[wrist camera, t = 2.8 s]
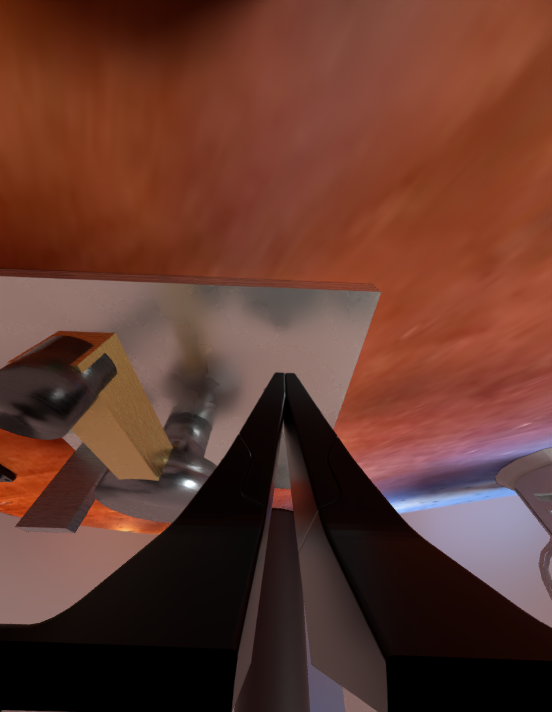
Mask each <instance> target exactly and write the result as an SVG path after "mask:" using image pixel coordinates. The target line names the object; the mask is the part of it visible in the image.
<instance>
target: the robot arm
mask: <svg viewBox="0 0 552 712" xmlns="http://www.w3.org/2000/svg"><path fill="white" fill-rule="evenodd" d="M283 425H284V435H285V443H286V452H287V460H288V469H289V477H290V486H291V494H292V503H293V511H294V520H295V528H296V537H297V545H298V552H299V563H300V571H301V580H302V588H303V597H304V605H305V613H306V622H307V630H308V638H309V647H310V656H311V664H312V665H313V666H314V667H316V668H317V669H318V670H320V671H321V672H323V673H324V674H325V675H327V676H328V677H330V678H331V679H332V680H334V681H335V682H337V683H338V684H339V685H341V686H342V687H343V694H344V703H345V711H346V712H552V628H551V627H549V626H548V625H546V624H544V623H542V622H540V621H538V620H537V619H536V618H534V617H533V616H531V615H529V614H528V613H526V612H525V611H524V610H522V609H521V608H519V607H518V606H516V605H515V604H514V603H512V602H511V601H510V600H508V599H507V598H505V597H504V596H503V595H501V594H500V593H498V592H497V591H496V590H494V589H493V588H492V587H490V586H489V585H487V584H486V583H485V582H483V581H482V580H480V579H479V578H478V577H476V576H475V575H473V574H472V573H471V572H469V571H468V570H467V569H465V568H464V567H462V566H461V565H460V564H458V563H457V562H456V561H454V560H453V559H451V558H450V557H449V556H447V555H446V554H444V553H443V552H442V551H440V550H439V549H438V548H436V547H435V546H433V545H432V544H430V543H429V542H428V541H426V540H425V539H424V538H423V537H422V536H420V535H419V534H418V533H417V532H416V531H415V530H414V529H413V528H411V527H410V526H409V525H408V524H407V523H406V522H405V521H404V519H403V518H402V517H401V516H400V515H399V514H398V513H397V511H396V510H395V509H394V508H393V507H392V505H391V504H390V503H389V502H388V501H387V499H386V498H385V497H384V496H383V495H382V493H381V492H380V491H379V490H378V489H377V487H376V486H375V485H374V484H373V483H372V481H371V480H370V479H369V478H368V477H367V475H366V474H365V473H364V472H363V470H362V469H361V468H360V467H359V465H358V464H357V463H356V462H355V460H354V459H353V458H352V456H351V455H350V453H349V452H348V451H347V449H346V448H345V446H344V445H343V443H342V442H341V440H340V439H339V438H337V435H336V433H335V432H334V430H333V429H332V427H331V426H330V424H329V423H328V421H327V420H326V418H325V417H324V415H323V414H322V412H321V411H320V409H319V408H318V406H317V405H316V404H315V402H314V401H313V399H312V398H311V396H310V395H309V393H308V392H307V390H306V389H305V387H304V386H303V384H302V383H301V381H300V380H299V378H298V377H297V375H296V374H295V373H283V372H275V373H274V375H273V376H272V378H271V380H270V381H269V383H268V385H267V386H266V388H265V390H264V392H263V393H262V395H261V397H260V398H259V400H258V402H257V403H256V405H255V407H254V408H253V410H252V412H251V413H250V415H249V417H248V418H247V420H246V422H245V423H244V425H243V427H242V429H241V430H240V432H239V434H238V435H237V437H236V438H235V440H234V442H233V443H232V445H231V447H230V448H229V450H228V451H227V453H226V454H225V456H224V457H223V459H222V460H221V461H220V463H219V464H218V466H217V467H216V468H215V470H214V471H213V472H212V474H211V475H210V476H209V478H208V479H207V480H206V481H205V483H204V484H203V485H202V487H201V488H200V489H199V491H198V492H197V493H196V494H195V496H194V497H193V498H192V500H191V501H190V502H189V504H188V505H187V506H186V507H185V509H184V510H183V511H182V512H181V514H180V515H179V516H178V517H177V518H176V519H175V520H174V521H173V522H172V523H171V525H170V526H169V527H167V528H166V529H165V530H164V531H163V532H162V533H161V534H160V535H158V536H157V537H156V538H155V539H154V540H153V541H151V542H150V543H149V544H148V545H146V546H145V547H144V548H143V549H142V550H140V551H139V552H138V553H137V554H136V555H134V556H133V557H132V558H131V559H129V560H128V561H127V562H126V563H125V564H123V565H122V566H121V567H120V568H119V569H118V570H116V571H115V572H114V573H112V574H111V575H110V576H109V577H108V578H106V579H105V580H104V581H103V582H102V583H100V584H99V585H98V586H97V587H95V588H94V589H93V590H92V591H91V592H90V593H88V594H87V595H86V596H84V597H83V598H82V599H81V600H79V601H78V602H77V603H75V604H74V605H73V606H71V607H70V608H68V609H67V610H65V611H63V612H62V613H60V614H58V615H56V616H55V617H53V618H50V619H48V620H45V621H43V622H41V623H36V624H30V625H27V624H0V712H232V711H233V708H234V706H235V703H236V700H237V698H238V695H239V693H240V690H241V687H242V685H243V682H244V680H245V677H246V674H247V672H248V669H249V667H250V664H251V659H252V651H253V643H254V636H255V628H256V621H257V614H258V606H259V599H260V592H261V584H262V577H263V569H264V562H265V555H266V547H267V540H268V532H269V525H270V518H271V510H272V503H273V496H274V488H275V481H276V474H277V466H278V459H279V451H280V444H281V437H282V429H283ZM16 478H17V477H16V476H14V475H13V474H11V473H10V472H8V471H6V470H5V469H3V468H1V467H0V482H13V481H14V480H15V479H16Z"/></svg>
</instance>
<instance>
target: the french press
mask: <svg viewBox="0 0 552 712" xmlns="http://www.w3.org/2000/svg"><path fill="white" fill-rule="evenodd" d="M495 479H496V482H497V484H499V485H502V486H504V487H506V488H509V489H511V490H514V491H515V492H516V493H517V494H518V496H519V497H520V498H521V499H522V501H523V502H524V503H525V505H526V506H527V507H528V508H529V510H530V511H531V512H532V513H533V515H534V516H535V517H536V519H537V520H538V521H539V522H540V524H541V525H542V526H543V528H544V529H545V530H546V531H547V533H548V534H549V535H550V537H551V538H550V541H549V543H548V544H547V545H546V546H545V547H544V549H543V550H542V551H541V554H540V560H539V568H540V572H541V577H542V580H543V582H544V585H545V587H546V589H547V591H548V593H549V595H550V598H551V599H552V591H551V590H552V580H551V577H550V574H549V570H548V569H549V563H550V558H551V556H552V512H551V511H552V448H547V449H543V450H540V451H538V452H535V453H532V454H530V455H527V456H524V457H522V458H519V459H517V460H515V461H514V462H512V463H510V464H509V465H507V466H505V467H503V468H502V469H501V470H500V471H499V473H498V474H497V475H496V476H495ZM550 510H551V511H550ZM547 552H548V553H547ZM546 553H547V554H546ZM545 554H546V556H545ZM544 557H545V561H544ZM543 564H544V568H543ZM550 588H551V589H550Z"/></svg>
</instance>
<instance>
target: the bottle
mask: <svg viewBox="0 0 552 712" xmlns="http://www.w3.org/2000/svg"><path fill="white" fill-rule="evenodd" d="M234 712H310V703H309V685H308V669H307V651H306V633H305V616H304V599H303V588H302V580H301V571H300V563H299V552H298V545H297V537H296V528H295V520H294V513H293V512H290V511H287V510H281V509H272V510H271V518H270V525H269V532H268V540H267V547H266V555H265V562H264V569H263V577H262V584H261V592H260V599H259V606H258V614H257V621H256V628H255V636H254V643H253V651H252V659H251V664H250V667H249V669H248V672H247V674H246V677H245V680H244V682H243V685H242V687H241V690H240V693H239V695H238V698H237V700H236V703H235V708H234Z"/></svg>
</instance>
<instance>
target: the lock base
mask: <svg viewBox="0 0 552 712" xmlns="http://www.w3.org/2000/svg"><path fill="white" fill-rule="evenodd" d="M380 294H381V291H380V290H379V289H378V288H377V287H375V286H374V285H373V284H357V283H333V282H309V281H285V280H261V279H237V278H212V277H188V276H164V275H140V274H116V273H92V272H68V271H44V270H20V269H0V369H1V368H3V367H4V366H6V365H8V363H7V362H9V361H10V360H12V359H13V358H15V357H17V356H18V355H20V354H22V353H23V352H25V351H26V350H28V349H30V348H31V347H33V346H35V345H36V344H38V343H40V342H41V341H43V340H44V339H46V338H48V337H49V336H51V335H53V334H54V333H56V332H57V331H79V332H104V333H116V335H117V337H118V339H119V341H120V343H121V345H122V347H123V349H124V351H125V353H126V355H127V357H128V359H129V361H130V363H131V365H132V367H133V369H134V371H135V373H136V375H137V377H138V379H139V381H140V383H141V385H142V387H143V389H144V391H145V393H146V395H147V397H148V399H149V401H150V403H151V405H152V407H153V409H154V411H155V413H156V415H157V417H158V419H159V421H160V423H161V425H162V427H163V429H164V431H165V433H166V435H167V437H168V439H169V441H170V443H171V445H172V447H173V448H177V449H181V450H185V451H189V452H192V453H195V454H197V455H200V456H202V457H204V458H206V459H208V460H210V461H211V462H213V463H214V464H215V465H217V466H218V464H219V463H220V461H221V460H222V459H223V457H224V456H225V454H226V453H227V451H228V450H229V448H230V447H231V445H232V443H233V442H234V440H235V438H236V437H237V435H238V434H239V432H240V430H241V429H242V427H243V425H244V423H245V422H246V420H247V418H248V417H249V415H250V413H251V412H252V410H253V408H254V407H255V405H256V403H257V402H258V400H259V398H260V397H261V395H262V393H263V392H264V390H265V388H266V386H267V385H268V383H269V381H270V380H271V378H272V376H273V375H274V373H275V372H283V373H295V374H296V375H297V377H298V378H299V380H300V381H301V383H302V384H303V386H304V387H305V389H306V390H307V392H308V393H309V395H310V396H311V398H312V399H313V401H314V402H315V404H316V405H317V406H318V408H319V409H320V411H321V412H322V414H323V415H324V417H325V418H326V420H327V421H328V423H329V424H330V426H331V427H332V429H334V426H335V423H336V421H337V418H338V415H339V412H340V409H341V406H342V403H343V400H344V398H345V395H346V392H347V389H348V386H349V383H350V380H351V377H352V374H353V372H354V369H355V366H356V363H357V360H358V357H359V354H360V351H361V349H362V346H363V343H364V340H365V337H366V334H367V331H368V328H369V326H370V323H371V320H372V317H373V314H374V311H375V308H376V305H377V303H378V300H379V297H380ZM62 438H63V439H64V440H65V441H66V442H67V443H68V444H69V445H70V446H71V447H72V448H74V449H75V450H76V451H75V452H74V453H73V455H72V456H71V457H70V458H69V460H68V461H67V462H66V463H65V465H64V466H63V467H62V468H61V470H60V471H59V472H58V473H57V475H56V476H55V477H54V478H53V480H52V481H51V482H50V483H49V485H48V486H47V487H46V488H45V490H44V491H43V492H42V493H41V495H40V496H39V497H38V498H37V500H36V501H35V502H34V503H33V505H32V506H31V507H30V508H29V510H28V511H27V512H26V513H25V515H24V516H23V517H22V518H21V520H20V521H19V522H18V523H17V525H16V526H15V527H17V528H19V529H22V530H24V531H26V532H56V533H59V532H60V533H75V532H76V531H77V529H78V527H79V526H80V524H81V522H82V521H83V519H84V517H85V516H86V514H87V512H88V511H89V509H90V508H91V506H92V504H93V503H94V501H95V499H96V498H95V496H94V490H95V488H96V486H97V485H98V483H99V481H100V480H101V478H102V477H103V475H104V473H105V472H106V470H107V469H108V467H107V466H106V465H105V464H104V463H103V462H102V461H101V460H100V459H99V458H98V457H97V456H96V455H95V454H94V453H93V452H92V451H91V450H90V449H89V448H88V447H87V446H86V445H85V444H84V442H83V441H82V440H81V439H80V438H79V437H78V436H77V435H76V434H75V433H74V432H73V431H72V430H70V431H69V432H68V433H67V434H66V435H65V436H63V437H62ZM275 488H283V489H291V486H290V477H289V469H288V460H287V452H286V443H285V435H284V425H283V429H282V437H281V444H280V451H279V459H278V466H277V474H276V481H275Z"/></svg>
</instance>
